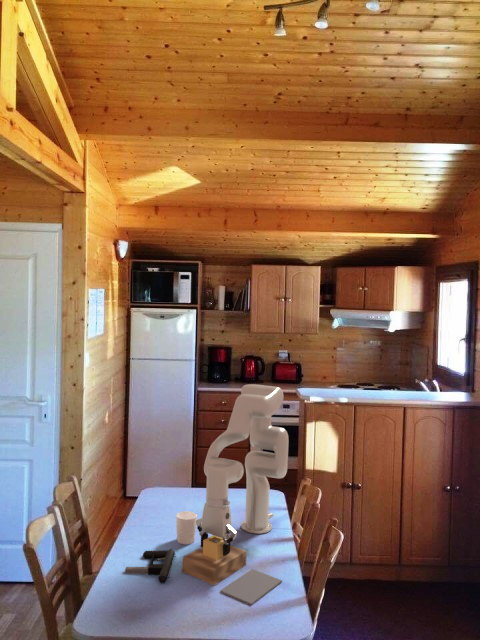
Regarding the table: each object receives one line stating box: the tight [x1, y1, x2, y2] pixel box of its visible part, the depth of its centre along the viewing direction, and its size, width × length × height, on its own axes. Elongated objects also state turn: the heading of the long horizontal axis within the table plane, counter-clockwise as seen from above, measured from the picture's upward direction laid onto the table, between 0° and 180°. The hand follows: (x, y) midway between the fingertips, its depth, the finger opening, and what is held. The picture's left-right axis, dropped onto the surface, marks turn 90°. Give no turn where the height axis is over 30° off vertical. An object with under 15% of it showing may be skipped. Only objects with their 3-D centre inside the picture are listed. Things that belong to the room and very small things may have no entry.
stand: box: [181, 540, 247, 586], centre depth 186 cm, size 18×14×10 cm
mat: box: [219, 568, 283, 606], centre depth 175 cm, size 18×12×1 cm, turn 144°
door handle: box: [124, 548, 177, 584], centre depth 185 cm, size 3×20×16 cm
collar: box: [203, 534, 228, 560], centre depth 186 cm, size 6×6×5 cm
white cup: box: [175, 510, 198, 545], centre depth 207 cm, size 8×8×10 cm
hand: (215, 550), depth 186 cm, fingers open, 9 cm apart
